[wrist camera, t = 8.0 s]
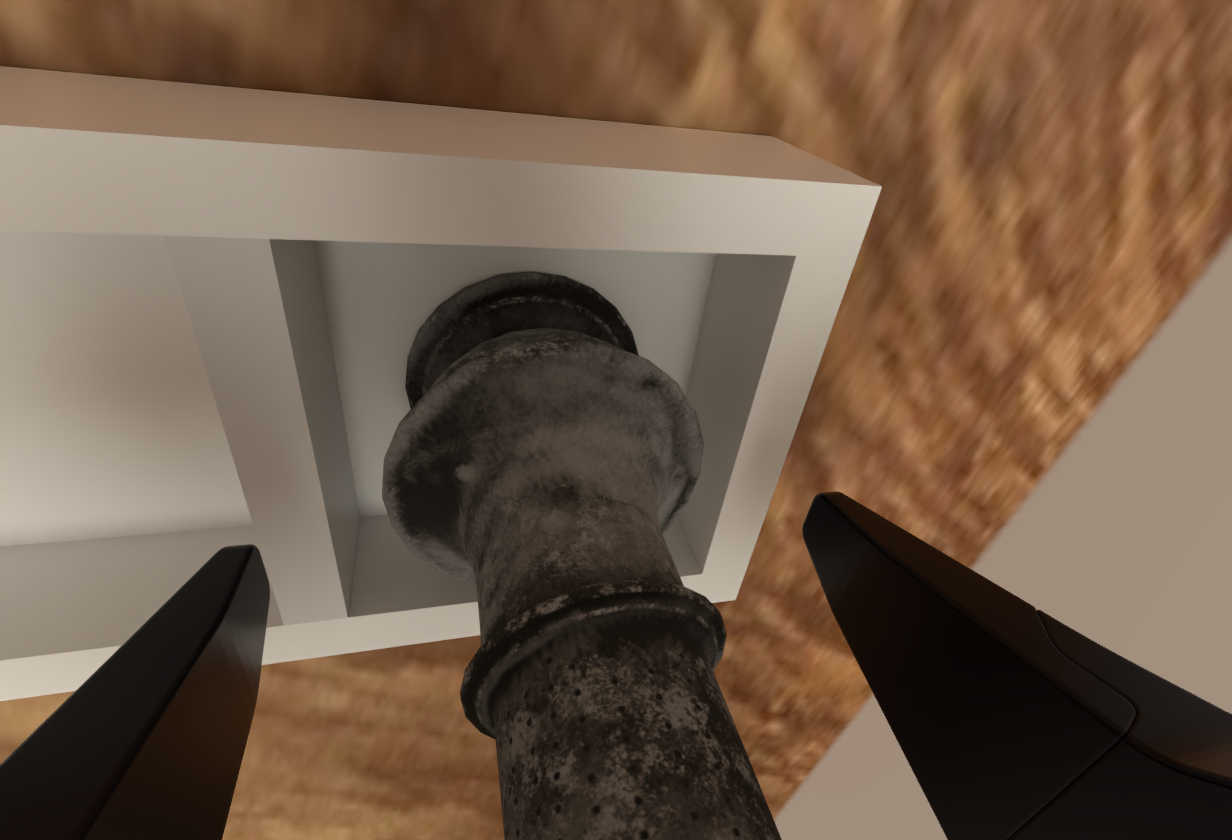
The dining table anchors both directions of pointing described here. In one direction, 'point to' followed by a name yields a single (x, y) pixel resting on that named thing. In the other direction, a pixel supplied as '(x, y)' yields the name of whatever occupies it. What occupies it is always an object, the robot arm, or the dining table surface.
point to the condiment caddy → (350, 336)
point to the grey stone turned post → (571, 564)
